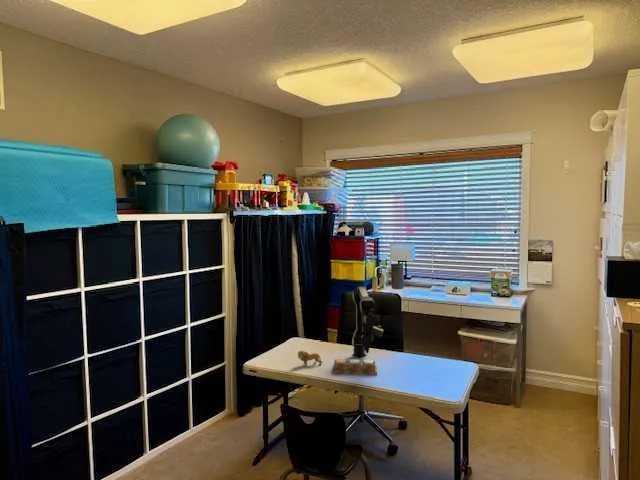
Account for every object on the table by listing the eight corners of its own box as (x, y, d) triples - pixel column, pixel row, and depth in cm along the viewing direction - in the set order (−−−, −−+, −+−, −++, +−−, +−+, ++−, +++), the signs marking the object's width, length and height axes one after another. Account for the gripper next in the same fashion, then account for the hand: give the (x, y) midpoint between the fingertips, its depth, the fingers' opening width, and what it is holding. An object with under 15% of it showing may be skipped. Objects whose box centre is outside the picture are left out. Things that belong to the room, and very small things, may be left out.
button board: (332, 373, 238) (332, 364, 238) (333, 367, 248) (333, 358, 248) (377, 374, 236) (377, 366, 235) (376, 368, 246) (376, 359, 245)
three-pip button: (336, 365, 240) (336, 361, 240) (336, 362, 245) (336, 358, 245) (345, 365, 240) (345, 361, 240) (345, 362, 245) (345, 358, 244)
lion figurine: (299, 368, 247) (299, 352, 246) (296, 365, 252) (296, 349, 251) (324, 365, 251) (324, 349, 251) (321, 362, 256) (321, 346, 256)
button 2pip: (363, 366, 239) (363, 362, 238) (363, 363, 244) (364, 359, 243) (373, 366, 238) (373, 362, 238) (373, 363, 243) (373, 359, 243)
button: (350, 366, 239) (350, 362, 239) (350, 362, 244) (350, 359, 244) (359, 366, 239) (359, 362, 239) (359, 363, 244) (359, 359, 244)
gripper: (382, 326, 229) (382, 356, 230) (382, 318, 248) (382, 346, 248) (360, 325, 231) (361, 355, 231) (362, 318, 249) (362, 345, 250)
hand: (367, 350), depth 240 cm, fingers open, 9 cm apart
